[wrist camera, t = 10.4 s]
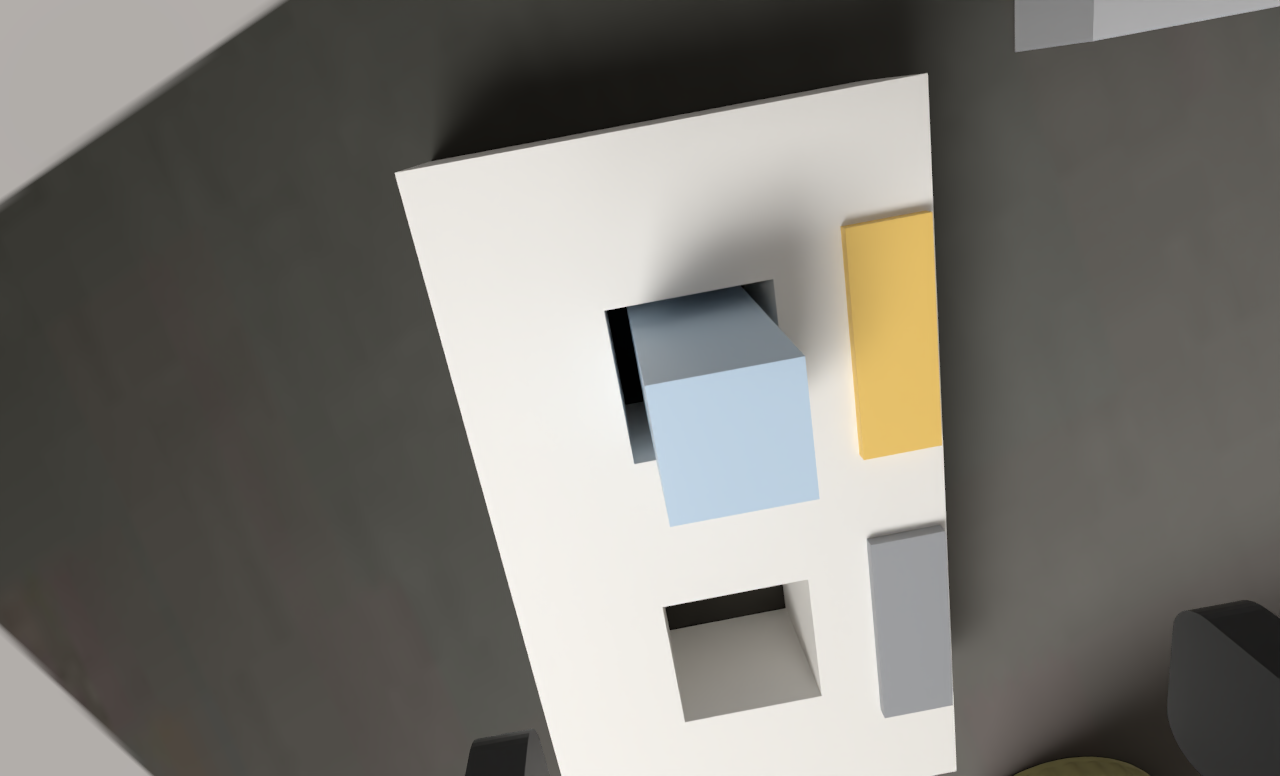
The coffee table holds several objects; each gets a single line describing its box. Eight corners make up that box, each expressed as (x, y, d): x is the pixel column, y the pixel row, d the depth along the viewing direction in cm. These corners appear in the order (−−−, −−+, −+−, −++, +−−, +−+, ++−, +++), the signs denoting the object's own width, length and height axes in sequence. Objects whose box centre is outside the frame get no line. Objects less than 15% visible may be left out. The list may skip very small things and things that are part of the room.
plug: (725, 269, 26) (805, 356, 17) (739, 367, 28) (819, 499, 18) (622, 289, 26) (644, 385, 17) (640, 386, 28) (670, 526, 18)
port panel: (862, 80, 25) (934, 72, 19) (902, 676, 33) (961, 779, 28) (430, 161, 24) (391, 174, 19) (580, 738, 33) (580, 853, 28)
